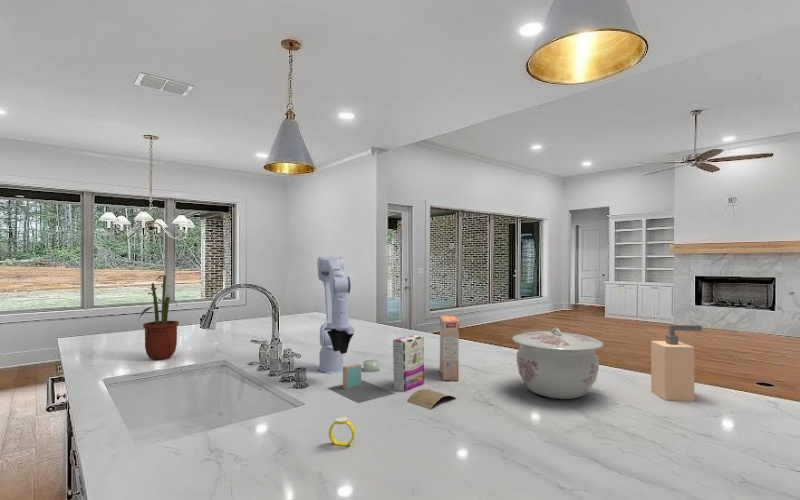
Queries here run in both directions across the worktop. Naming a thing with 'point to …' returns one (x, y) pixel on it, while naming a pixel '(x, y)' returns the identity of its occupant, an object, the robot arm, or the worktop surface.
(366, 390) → the mat
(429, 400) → the clay tablet
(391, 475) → the worktop surface
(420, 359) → the candy bar box
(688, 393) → the soap dispenser
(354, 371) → the tile
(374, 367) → the pale green dome
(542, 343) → the chamber pot
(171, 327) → the potted plant
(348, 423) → the watch
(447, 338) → the cracker box
